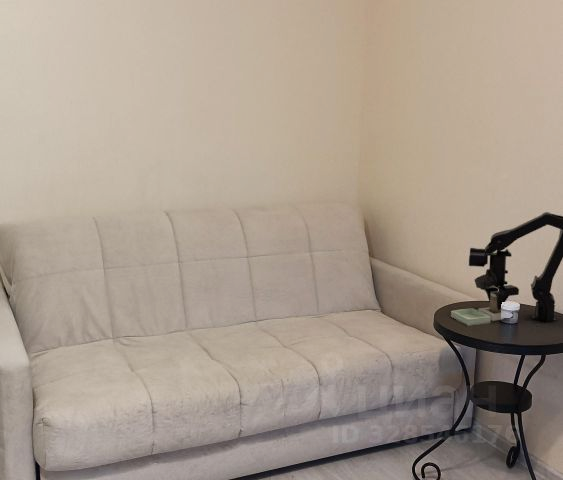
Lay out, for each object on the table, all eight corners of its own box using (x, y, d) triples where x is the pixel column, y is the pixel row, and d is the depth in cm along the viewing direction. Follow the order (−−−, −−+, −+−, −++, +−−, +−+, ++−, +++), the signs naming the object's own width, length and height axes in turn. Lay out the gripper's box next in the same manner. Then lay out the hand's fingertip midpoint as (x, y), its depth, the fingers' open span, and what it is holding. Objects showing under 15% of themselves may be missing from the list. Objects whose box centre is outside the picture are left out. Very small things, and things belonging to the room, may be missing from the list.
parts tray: (490, 323, 247) (490, 316, 247) (468, 326, 244) (468, 319, 244) (472, 314, 258) (472, 308, 257) (451, 317, 255) (451, 310, 254)
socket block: (513, 317, 253) (513, 312, 252) (492, 320, 250) (492, 315, 250) (498, 311, 261) (498, 306, 261) (477, 313, 258) (478, 308, 258)
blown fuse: (503, 316, 254) (504, 293, 252) (493, 318, 253) (495, 294, 251) (496, 313, 258) (497, 290, 256) (487, 314, 257) (488, 291, 255)
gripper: (464, 263, 258) (462, 303, 261) (494, 275, 241) (492, 317, 244) (489, 261, 261) (487, 300, 265) (520, 272, 244) (518, 314, 247)
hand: (495, 308), depth 255 cm, fingers closed on blown fuse, 4 cm apart
